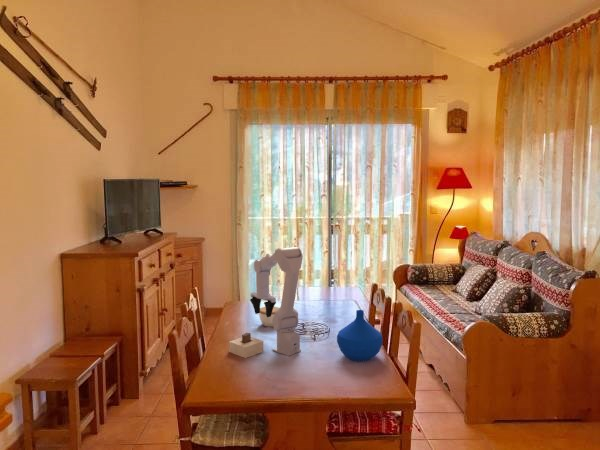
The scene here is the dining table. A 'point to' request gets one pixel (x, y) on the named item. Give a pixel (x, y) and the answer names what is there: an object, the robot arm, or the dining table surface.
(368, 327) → the vase
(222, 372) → the dining table surface
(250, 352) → the cream square hole block
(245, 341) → the brown rectangular block
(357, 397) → the dining table surface
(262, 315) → the lidded jar
